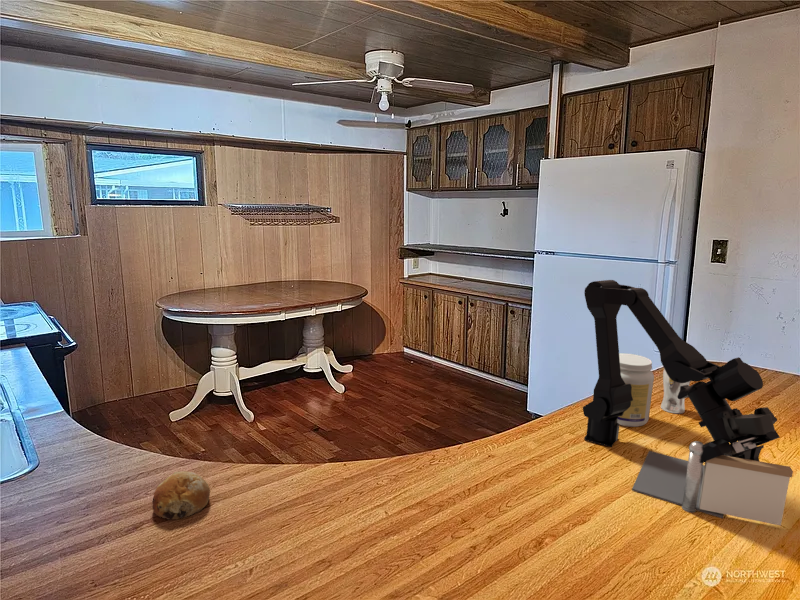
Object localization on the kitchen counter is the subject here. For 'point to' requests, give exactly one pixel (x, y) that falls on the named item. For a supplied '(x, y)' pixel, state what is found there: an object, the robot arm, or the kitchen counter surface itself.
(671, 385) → the beer glass
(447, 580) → the kitchen counter surface
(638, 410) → the supplement tub
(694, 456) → the gate post
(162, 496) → the bread roll
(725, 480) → the panel
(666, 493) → the mat
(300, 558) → the kitchen counter surface
